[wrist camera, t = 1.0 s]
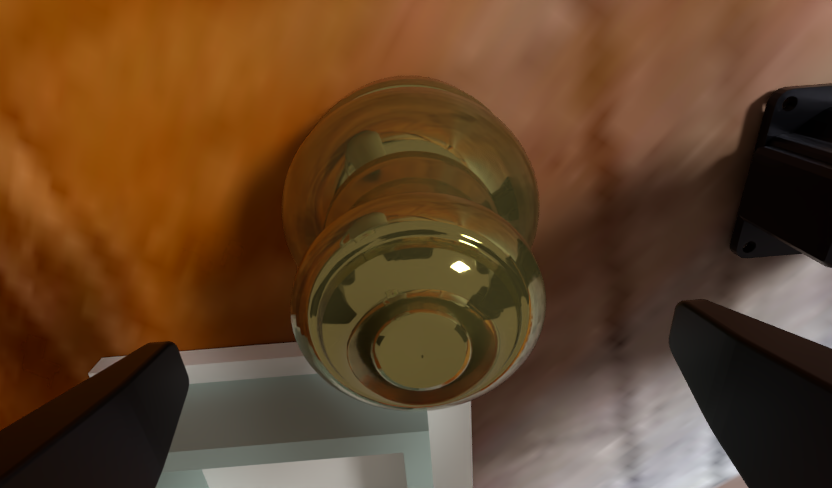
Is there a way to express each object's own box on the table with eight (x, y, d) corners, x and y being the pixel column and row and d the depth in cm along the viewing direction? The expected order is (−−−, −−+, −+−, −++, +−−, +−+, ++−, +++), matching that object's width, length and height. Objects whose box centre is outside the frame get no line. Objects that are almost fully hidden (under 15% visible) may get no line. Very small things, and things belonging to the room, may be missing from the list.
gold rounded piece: (281, 93, 15) (118, 191, 6) (499, 54, 15) (653, 97, 6) (334, 278, 19) (275, 518, 10) (514, 249, 18) (629, 466, 9)
